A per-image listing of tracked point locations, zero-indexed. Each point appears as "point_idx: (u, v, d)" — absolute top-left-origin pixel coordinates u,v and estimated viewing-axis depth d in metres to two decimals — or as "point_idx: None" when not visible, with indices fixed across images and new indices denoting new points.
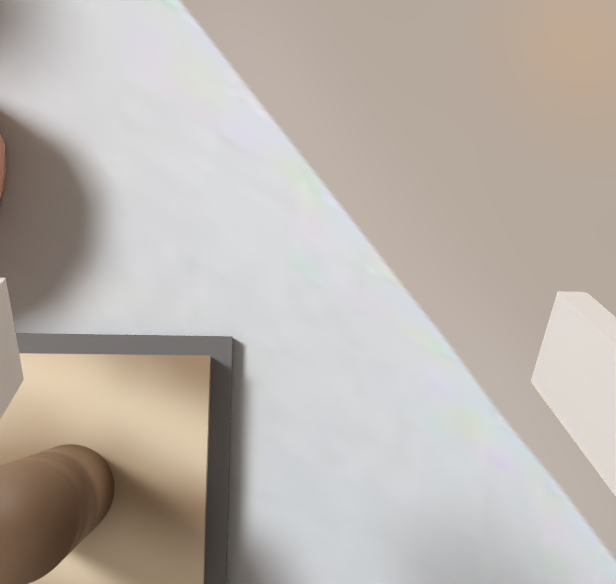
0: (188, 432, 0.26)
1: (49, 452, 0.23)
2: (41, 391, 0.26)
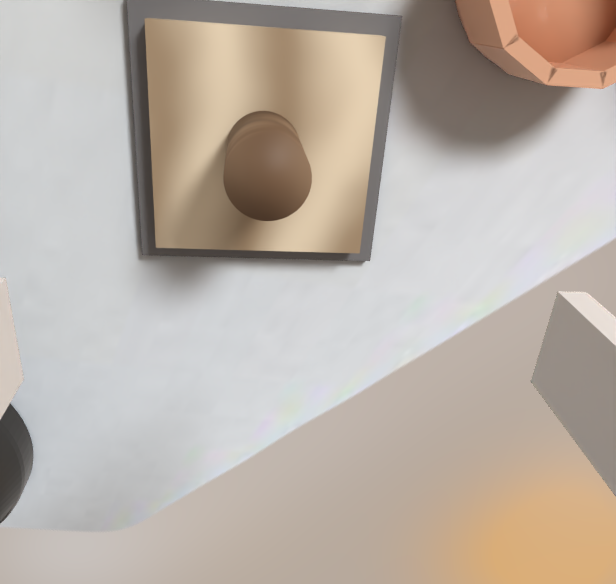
0: (302, 238, 0.34)
1: None
2: (344, 126, 0.31)
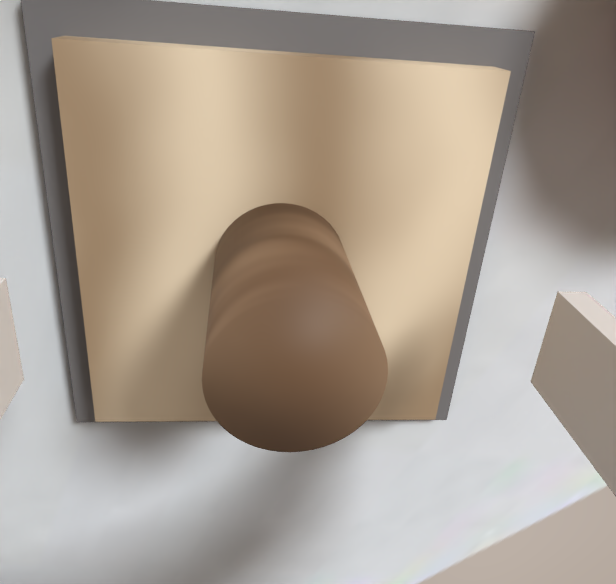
0: None
1: None
2: (423, 227, 0.18)
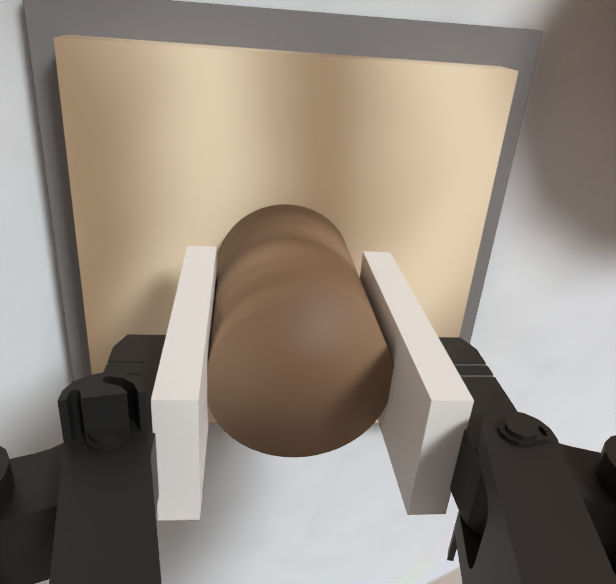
0: None
1: None
2: (429, 228, 0.17)
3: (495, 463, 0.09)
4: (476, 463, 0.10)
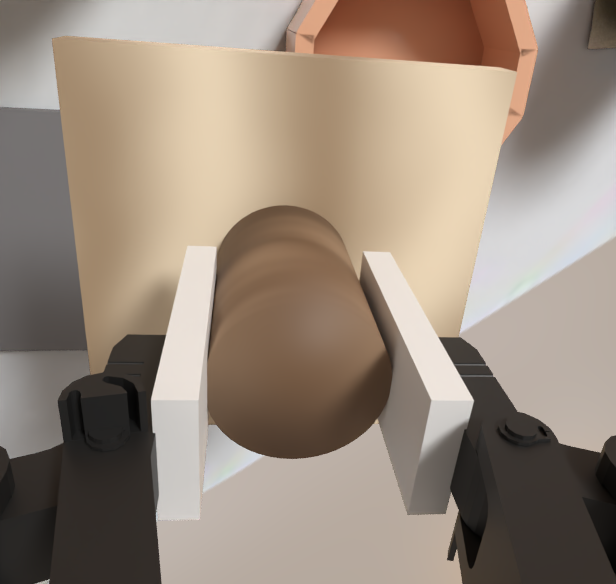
0: None
1: None
2: (428, 229, 0.17)
3: (495, 463, 0.09)
4: (476, 463, 0.10)
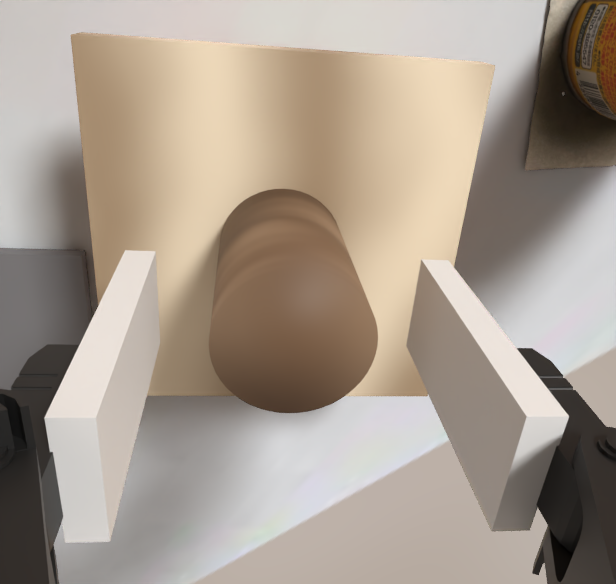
0: None
1: None
2: (414, 212, 0.19)
3: (593, 477, 0.09)
4: (574, 481, 0.09)
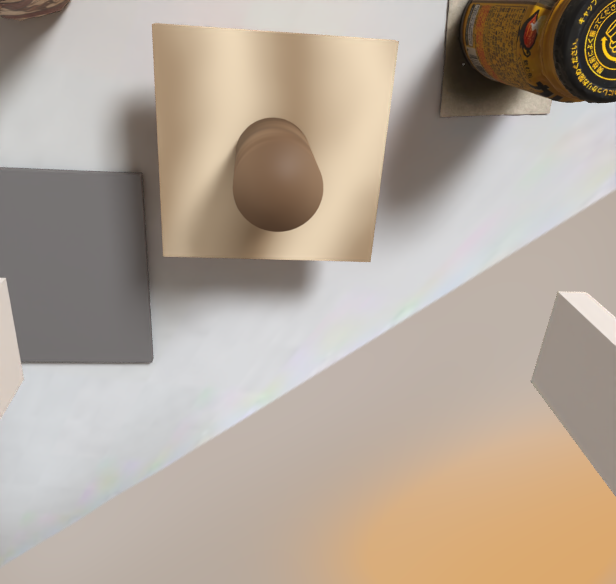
0: (312, 246, 0.33)
1: None
2: (355, 133, 0.31)
3: None
4: None
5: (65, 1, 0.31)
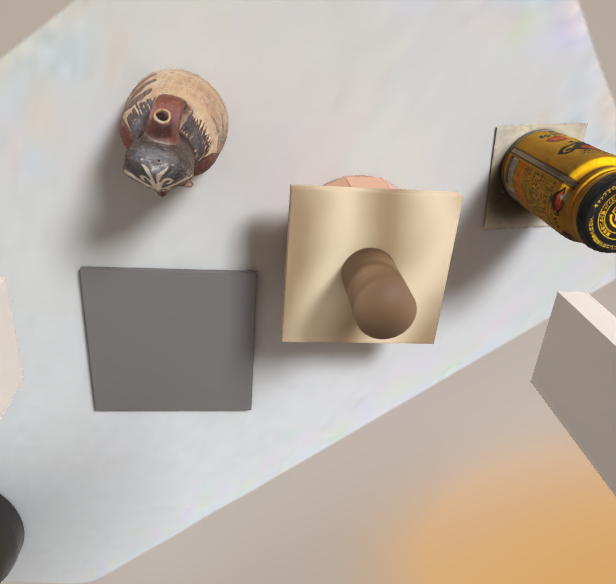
0: None
1: None
2: (428, 256, 0.42)
3: None
4: None
5: None
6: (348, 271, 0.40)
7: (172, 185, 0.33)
